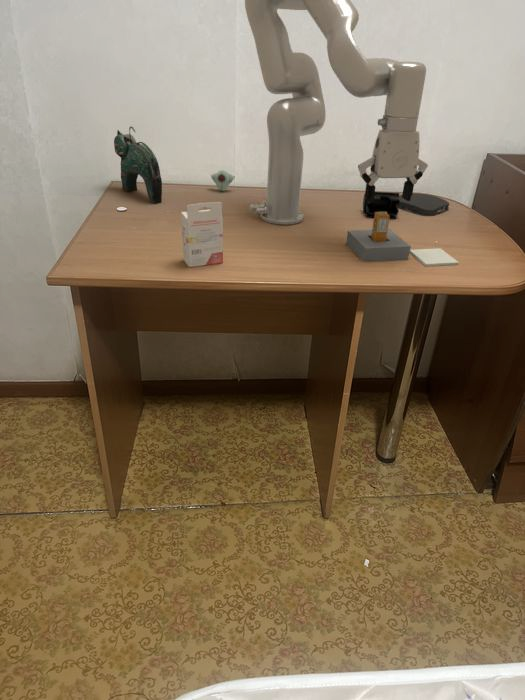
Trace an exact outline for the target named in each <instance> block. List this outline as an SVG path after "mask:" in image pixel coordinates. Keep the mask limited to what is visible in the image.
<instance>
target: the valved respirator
mask: <svg viewBox="0 0 525 700" xmlns="http://www.w3.org/2000/svg"><path fill="white" fill-rule="evenodd" d="M210 177H211V180H212V181H213V182H214V183H215V185H216V187H217V189H218V190H219V191H222V192H224V191H226V190H227V189H228V188H229V186H230V184H231V183H232V182H233V181H234V179H236V176H235V175H233V174H230V173H228V172H227V171H226V170H224V169H223V170H219V171H218V172H216V173H212V174H210Z"/></svg>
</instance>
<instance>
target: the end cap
mask: <svg viewBox="0 0 525 700" xmlns="http://www.w3.org/2000/svg"><path fill="white" fill-rule="evenodd" d="M399 195H400V193H399V192H386V191H385V192H384V191H375V194H374V201H373V202H372V203H370V202H369V201H367V200H366V198H365V193H364V194H363V200H362V211H363V212H364V216H365V217H366V218H367V219H374V216H375V212H387V214H388V215H390V217H389V220H397V219H398V218H397V215H399V211H400V210H399V208H397V205H400V200H399Z"/></svg>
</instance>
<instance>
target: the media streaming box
mask: <svg viewBox="0 0 525 700" xmlns="http://www.w3.org/2000/svg"><path fill="white" fill-rule="evenodd" d="M399 200H400V205H397V208H398V210H399V209H400V210H403V211H406V212H410V213H413V214H417V215H420V216H423V217H432V216H437V215H439V214H442V213H445V212H447V211H448V210H449V206H450V203H449V202H448V201H447V200H446V199H443V198H441V197H438V196H436V195H431V194H427V193H420V192H419V193H417V192H416V193H415V192H413V194H412V196H411V200H410V201H407V200H405V199H404V198H402V194H399Z"/></svg>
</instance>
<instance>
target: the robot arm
mask: <svg viewBox="0 0 525 700" xmlns="http://www.w3.org/2000/svg"><path fill="white" fill-rule="evenodd" d="M244 7H245V12H246V17H247V20H248V24H249V26H250V30H251V33H252V36H253V39H254V44H255V48H256V53H257V57H258V61H259V67H260V71H261V76H262V80H263V83H264V86H265V88H266V90H267V91H268V92H269V93H270V94H274V95H290V94H291V96H292V97H288V98H283V99H280V100H277V101H276V102H274V103H273V104H272V105H271V106H270V108H269V110H268V111H267V116H266V126H267V137H268V162H267V163H268V167H267V183H266V184H267V185H266V199H263V202H260V203H259V204H258V203H250V204H249V211H250V212H255V213H259V214H260V218H261V219H262V221H265V222H267V223H270V224H274V225H281V226H282V225H283V226H284V225H296V224H298V223H301V222H302V221H303V220H304V213H303V212H302V211H300V201H301V200H300V199H301V189H302V179H303V168H304V167H303V166H304V149H303V144H302V142H301V137H304V136H308V135H314V134H316V133H317V132H319V131H321V129H322V128H323V127H324V125H325V122H326V115H327V114H326V105H325V101H324V100H325V99H324V95H323V90H322V85H321V78H320V74H319V70H318V67H317V65H316V62H315V61H314V59H313V58H312V57H311V56H310V55H308V54H307V53H304V52H294V51H293V49H292V48H291V43H290V40H289V39H290V38H289V33H288V30H287V26H286V25H285V23H284V21H283V19H282V18H281V16H280V15H279V13H278V10H291V11H292V10H293V11H307V12H308V14H309V15H310V16H311V18H312V19H313V21H314V23H315V24H316V26H317V27H318V28H319V30H320V32H321V33H322V34H323V36H324V38H325V40H326V51H327V56H328V61H329V65H330V67H331V69H332V71H333V73H334V75H335V76H336V78H337V79H338V80H339V82H340V83H341V85H342V86H343V87H344V89H345V90H346V91H347V92H348V93H349V94H350V95H351V96H353V97H356V98H360V99H361V98H370V97H380V96H386V98H385V105H384V107H385V108H384V114H383V116H382V118H378V119H377V126H381V129H379V131H378V133H377V137H376V139H375V142H374V146H373V151H372V156H371V158H368V159H366V160H365V161H363V162H362V163H360V164H358V165H357V169H358V172H359V174H360V177H361V179H362V180H363V181H364V183H365V192H364V194H365V198H366V200H367V201H369V202H370V203H372V202H373V201H374V194H375V192H376V185H375V183H377V182H378V180H379V179H406V181H404V183H403V189H402V194H401V195H402V198H404V199H405V200H407V201H410V200H411V196H412V194H413V193H414V187H415V185H416V184H417V182H418V181H419V180H420V179H421V178H423V175H424V173H425V171H426V170H427V168H428V166H429V165H428V163H427V162H425V161H423V160H422V159H420V157H419V156H420V131H417V125H418V122H419V116H420V108H421V103H422V98H423V93H424V88H425V87H424V86H425V81H426V75H427V67H426V65H425V64H424V63H422V62H419V61H398V60H394V59H391V58H378V57H377V58H376V57H375V58H367V57H366V56H365V55H364V54H363V52H362V51H361V49H360V48H359V46H358V45H357V43H356V42H355V39H354V36H353V34H352V33H353V32H354V30H355V29H356V27H357V25H358V22H359V19H360V18H359V16H360V15H359V12H358V10H357V8H356V7H355V5H354V4H353V3H352V1H351V0H244ZM368 168H370V173H369V174H368V173H367V169H368Z"/></svg>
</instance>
